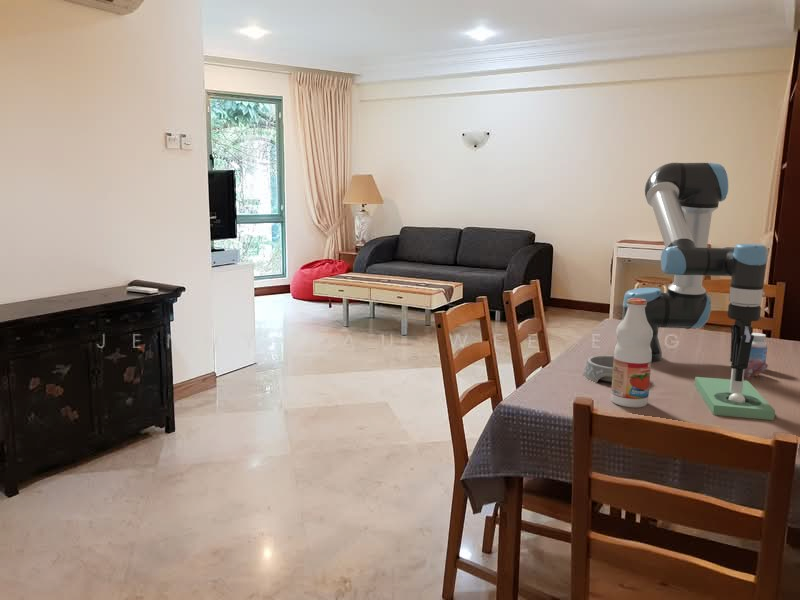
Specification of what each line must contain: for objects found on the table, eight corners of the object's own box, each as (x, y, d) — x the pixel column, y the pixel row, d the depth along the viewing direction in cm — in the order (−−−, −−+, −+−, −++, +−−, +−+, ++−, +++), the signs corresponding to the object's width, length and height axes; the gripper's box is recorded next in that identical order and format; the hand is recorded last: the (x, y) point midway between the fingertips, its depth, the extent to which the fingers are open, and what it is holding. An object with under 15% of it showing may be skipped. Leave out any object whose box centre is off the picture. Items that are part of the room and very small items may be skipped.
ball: (730, 408, 171) (730, 393, 171) (726, 406, 175) (726, 391, 175) (747, 409, 170) (747, 393, 170) (743, 407, 174) (743, 392, 174)
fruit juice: (620, 394, 182) (628, 295, 177) (653, 402, 176) (662, 299, 171) (604, 402, 176) (611, 299, 171) (637, 410, 169) (646, 303, 164)
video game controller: (739, 384, 199) (750, 367, 195) (728, 374, 202) (739, 357, 198) (762, 380, 203) (773, 363, 199) (750, 370, 206) (762, 353, 202)
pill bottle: (767, 371, 207) (771, 337, 205) (746, 370, 208) (750, 335, 206) (761, 366, 213) (765, 332, 211) (740, 365, 214) (744, 331, 212)
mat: (694, 385, 192) (695, 376, 191) (746, 389, 189) (747, 380, 188) (713, 414, 167) (714, 405, 167) (774, 420, 164) (775, 410, 163)
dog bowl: (590, 367, 210) (591, 351, 209) (650, 376, 201) (652, 359, 200) (576, 381, 195) (577, 363, 194) (641, 391, 187) (643, 372, 186)
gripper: (768, 309, 163) (758, 400, 167) (754, 300, 175) (744, 385, 179) (735, 307, 164) (725, 398, 168) (723, 299, 177) (715, 383, 181)
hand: (735, 391), depth 174 cm, fingers closed
